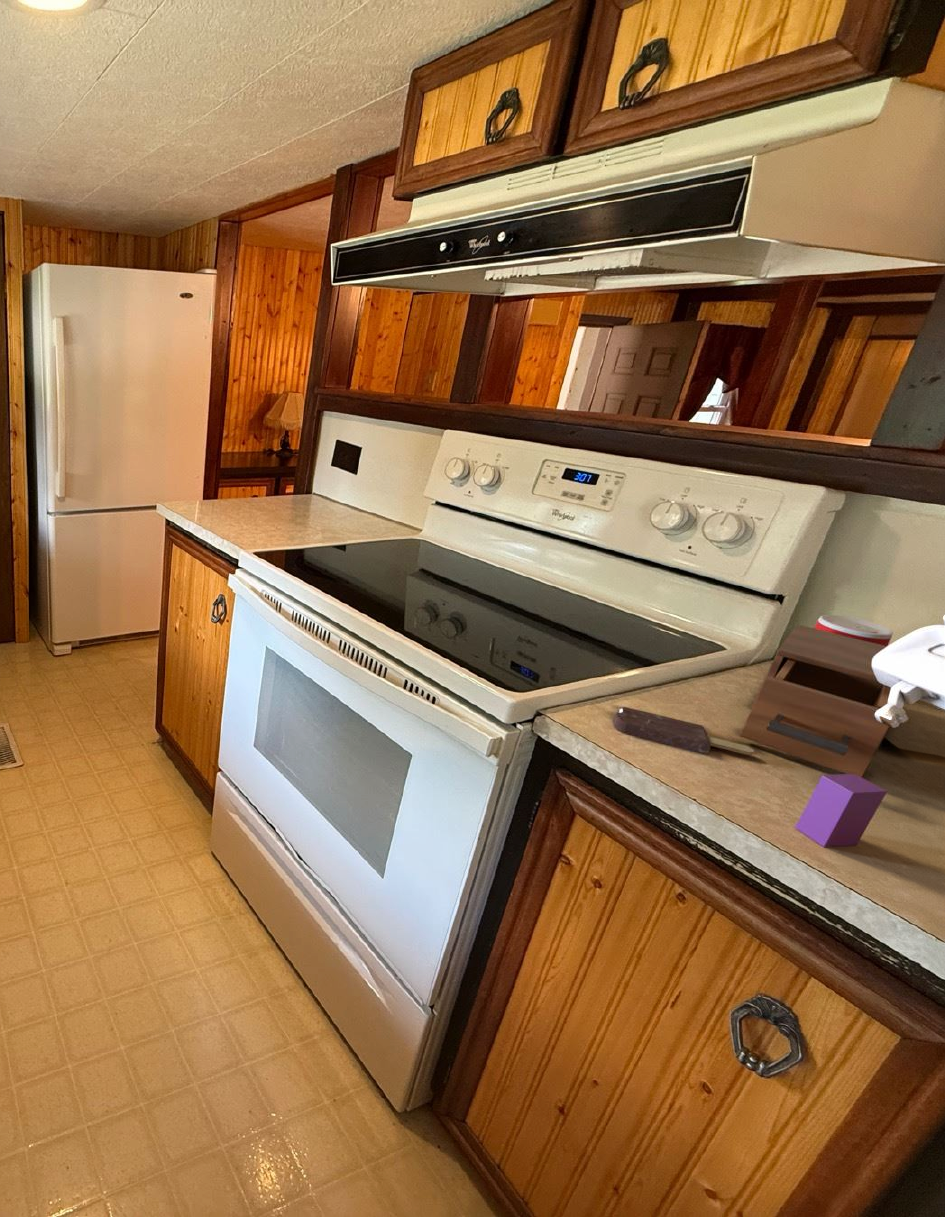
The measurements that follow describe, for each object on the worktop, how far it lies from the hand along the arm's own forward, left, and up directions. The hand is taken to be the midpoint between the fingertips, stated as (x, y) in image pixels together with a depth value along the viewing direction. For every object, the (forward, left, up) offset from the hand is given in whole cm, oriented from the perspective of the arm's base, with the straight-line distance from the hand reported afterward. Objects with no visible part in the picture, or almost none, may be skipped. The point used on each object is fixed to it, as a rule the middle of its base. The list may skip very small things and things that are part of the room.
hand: (936, 745), depth 67 cm
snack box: (+7, +4, -11) cm, 14 cm away
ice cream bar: (+15, -13, -11) cm, 23 cm away
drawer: (0, -17, -10) cm, 20 cm away
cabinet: (-7, -29, -11) cm, 32 cm away
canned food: (-13, -42, -11) cm, 45 cm away
